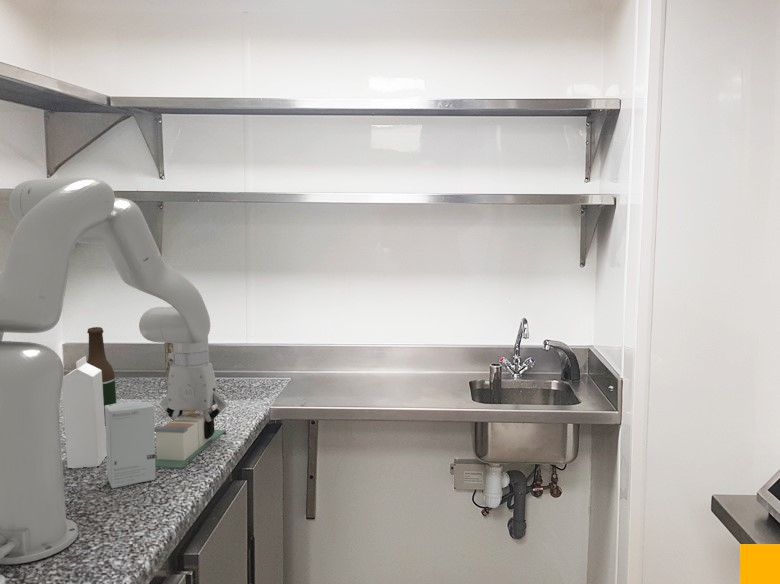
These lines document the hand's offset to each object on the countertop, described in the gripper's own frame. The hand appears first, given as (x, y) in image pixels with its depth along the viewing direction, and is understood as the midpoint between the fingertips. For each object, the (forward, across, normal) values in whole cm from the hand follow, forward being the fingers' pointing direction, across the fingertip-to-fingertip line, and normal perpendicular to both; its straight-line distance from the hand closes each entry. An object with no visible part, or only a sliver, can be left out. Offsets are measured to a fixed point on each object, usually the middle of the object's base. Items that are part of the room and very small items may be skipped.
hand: (194, 435), depth 141 cm
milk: (+2, -17, -14) cm, 22 cm away
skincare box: (+2, -3, -21) cm, 21 cm away
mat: (+1, 0, -4) cm, 4 cm away
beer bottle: (+2, -30, +11) cm, 32 cm away
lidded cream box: (+1, 0, -8) cm, 8 cm away
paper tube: (+2, -13, +20) cm, 24 cm away
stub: (+1, 0, -1) cm, 2 cm away
